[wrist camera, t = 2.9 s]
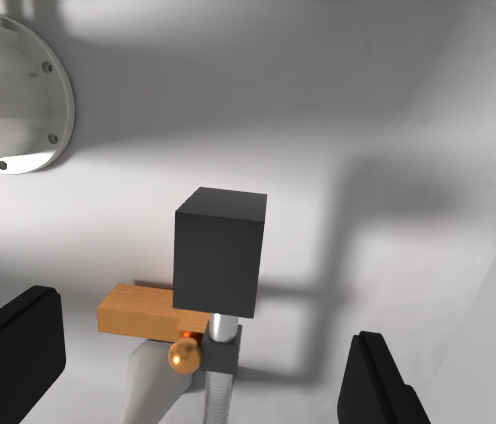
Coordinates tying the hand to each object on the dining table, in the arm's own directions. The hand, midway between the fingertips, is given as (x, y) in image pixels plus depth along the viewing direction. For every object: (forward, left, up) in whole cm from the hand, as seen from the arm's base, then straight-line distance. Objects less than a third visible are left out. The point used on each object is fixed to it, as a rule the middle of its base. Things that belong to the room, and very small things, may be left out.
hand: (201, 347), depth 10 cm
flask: (+20, -7, -19) cm, 29 cm away
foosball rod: (+9, -5, -18) cm, 21 cm away
